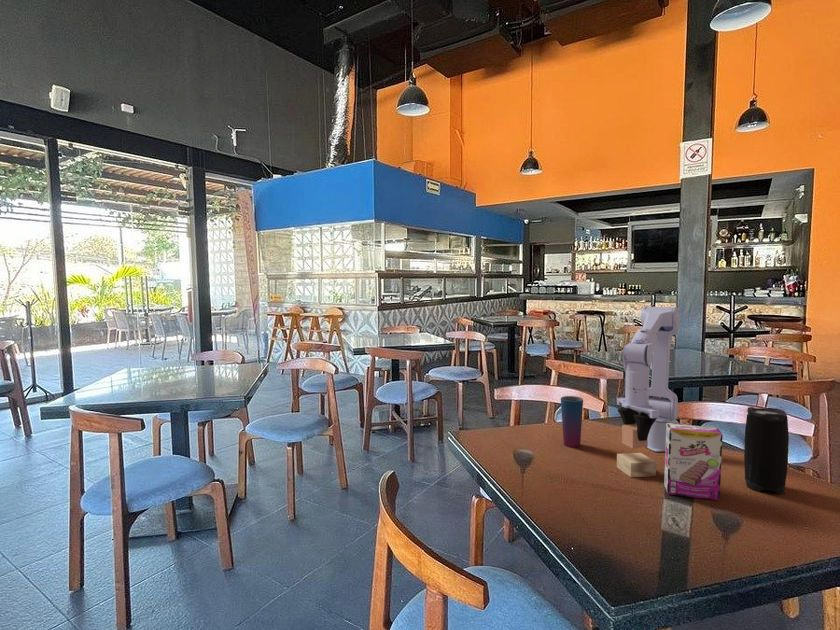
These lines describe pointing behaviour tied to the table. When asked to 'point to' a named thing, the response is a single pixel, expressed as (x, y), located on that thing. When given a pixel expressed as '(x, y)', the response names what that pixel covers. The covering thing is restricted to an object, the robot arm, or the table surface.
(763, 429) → the portable speaker
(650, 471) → the oak block
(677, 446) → the candy bar box
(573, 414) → the cup
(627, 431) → the terracotta cube
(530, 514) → the table surface
